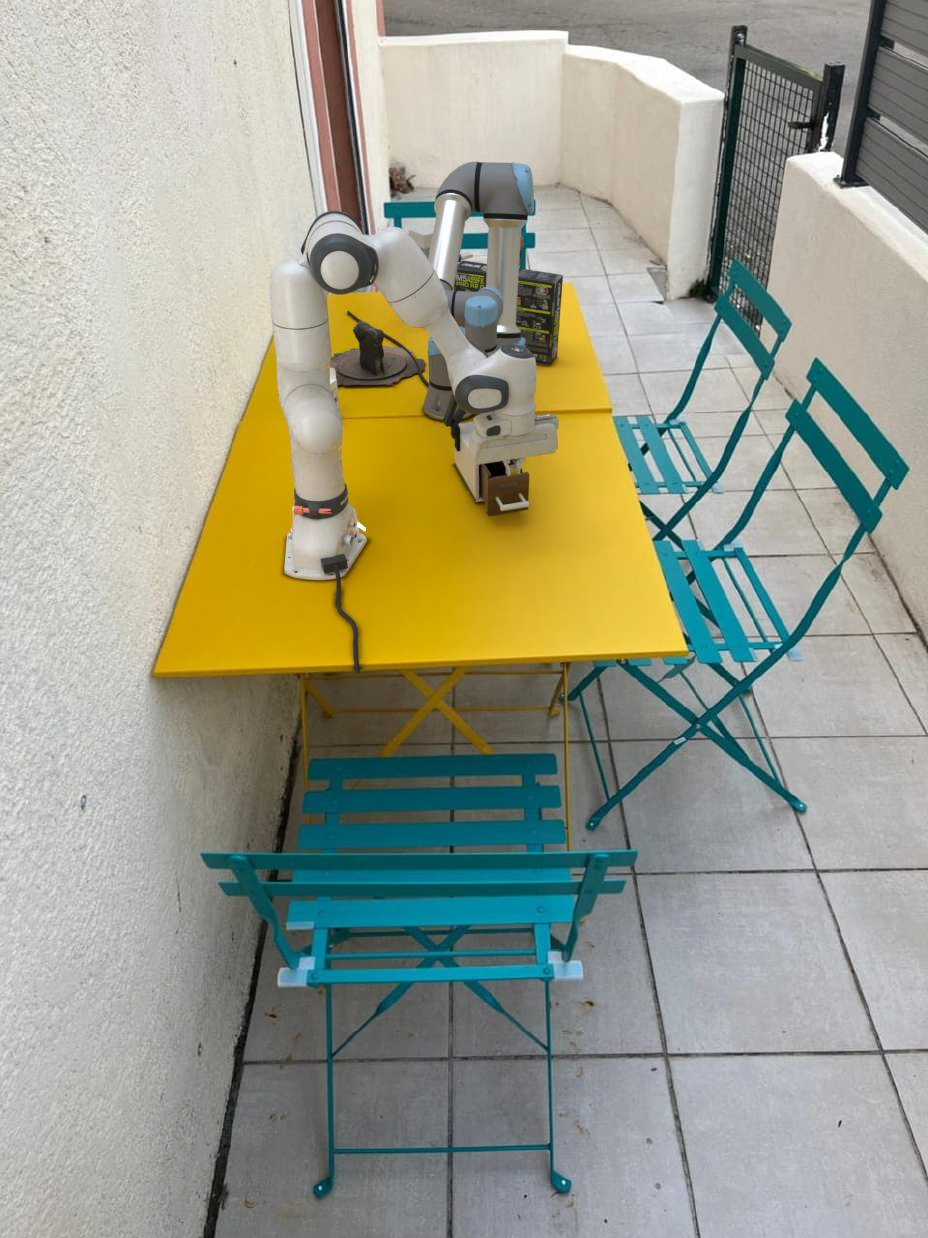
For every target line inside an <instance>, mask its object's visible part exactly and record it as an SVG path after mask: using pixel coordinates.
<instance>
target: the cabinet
mask: <svg viewBox="0 0 928 1238" xmlns="http://www.w3.org/2000/svg"><path fill="white" fill-rule="evenodd" d="M458 425H459V427H460V451H458V452H457V450H456V448H455V440H454V439H453V448H454V449H453V450H454V451H453V453H454V454H453V455H454V457H453V458H454V461H453V462H454V467H455V469H456V470H457V472H458V474H459V476H460V478H461V479H462V481H463V483H464V485H465V487H466V489H467V490H468V492H469V494H470V496H471V497H472V499H473V501H474V502H475V503H479V502H484V501H483V499H482V498H481V496H480V494H479V465H476V464H474V463H473V462H472V460H471V459H470V456H469V443H470V436H471V433H472V431H473V429H474V428H475V425H474V421H468V422H460V423H459V424H458ZM515 460H516V462H517V460H518V459H515Z"/></svg>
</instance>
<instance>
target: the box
mask: <svg viewBox="0 0 928 1238" xmlns="http://www.w3.org/2000/svg"><path fill="white" fill-rule="evenodd" d="M486 274H487V263H483V262H477V261H470V260H461V262H459V263H458V267H457V273H456V279H455V285H454V291H468V292H478V291H479V290H480V289H482V288H484V287H486ZM563 279H564V275H563V274H561V273H553V272H547V271H540V270H534V269H526V268H520V267H519V275H518V293H517V310H516V326H517V327H518V328H519V329H520V330H521V336H520V337H523V338H524V339H525V340H526V343H525V348H527V349H528V350H529V351H530V352H531V353H532V354H533V355H534V357H535V361H536V365H541V366H548V367H550V366H551V365H552V364H553V363H554V362H555V360H556V359H557V358H558V351H559V350H558V349H559V335H560V321H561V306H562V293H563V292H562V291H563V283H564V282H563V281H564V280H563ZM458 325H459V326H461V327H464V328H465V324H458Z"/></svg>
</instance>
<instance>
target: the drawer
mask: <svg viewBox="0 0 928 1238" xmlns="http://www.w3.org/2000/svg"><path fill="white" fill-rule="evenodd" d="M507 464H508V465H515V464H516V460H515V459H512V460H510V463H507ZM479 494H480V496H481V498H482V499H483V501H482V502H483V503H484V505H485V506H486V507H485V509H486V511H485V514H486V516H487V517H491V516H497V515H499V516H500V515H504V514H510V513H517V512H523V511H528V510H529V507H530V503H529V495H530V473H529V471H523V469H522V467H521V468H520V474H516V475H510V476H508V475H507V474H506V466H505V465H504V463H503V462H502V461H499V462H492V463H486V464H479Z"/></svg>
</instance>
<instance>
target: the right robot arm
mask: <svg viewBox="0 0 928 1238" xmlns="http://www.w3.org/2000/svg"><path fill="white" fill-rule="evenodd" d="M534 189H535V188H534V179H533V172H532V169H531V167H530V166H529V165H528V164H525V163H519V162H518V163H517V162H514V161H513V162H493V161H492V162H491V161H489V162H488V161H468V162H466V163H463V164H461V165H459V166H457V168H455V169H454V170H453V171H451V172H450V173H449V174H448V175H447V176H446V177H445V179H444V180H443V182H442V183H441V185H440V186H439V188H438V190H437V193H436V195H435V200H434V205H433V208H434V209H433V210H434V213H435V219H434V220H435V221H434V225H433V226H434V231H433V236H432V241H431V247H430V252H429V257H428V260H429V262H430V263H431V265H432V266H433V268H434V269H435V271H436V273H437V275H438V277H439V278H440V281H441V283H442V285H443V287H444V290H445V292H446V295H447V298H448V308H449V310H450V313H451V314H452V316H453V317H454V319H455V320H456V322H457V324H465V328H464V327H461V326H459V327H460V328H461V330H462V331H463V333H464V334H465V336H466V337H467V339H469V340H470V341H471V342H472V343H474V344H475V345H477V346H479V347H480V348H481V349H483V350H484V351H485V352H486V353H487V355H488V356H489V357H490V356H491V355H493V354H494V353H496V352H497V351H498V350H499V349H500V347H501V346H503V345H508V344H515V345H519V346H522V347H524V348H525V343H526V340H525V339H524V338H523V337H520V336H521V330H520V329H519V328H518V327H517V326H516V310H517V293H518V275H519V268H520V265H519V258H520V241H521V234H522V229H523V228H524V226H525V225H526V224H527V223H528V220H529V219H528V218H529V215H533V214H534V212H535V192H534ZM473 212H476V213H482V220H483V222H484V223H485V224H486V225H487V227H488V233H487V234H488V235H487V251H486V252H487V253H486V264H487V274H486V287H484V288H482V289H480V290H479V291H478V292H468V291H454V285H455V279H456V273H457V267H458V264H459V263H460V262H459V256H460V254H461V249H462V244H463V239H464V238H463V237H464V233H465V226H466V222H467V221H468V220H469V219H470V217H471V214H472V213H473ZM458 262H459V263H458ZM346 314H348V315H349V316H350V317H351V318H352V319H354V320H355V321H356V322H357V323H358V322H359V321H362V319H360V318H358V317H357V316H355V315H354V314H353V313H352V312H351V311H350V310H347V311H346ZM383 333H384V337H385V338H386V339H388V340H390V341H391V342H393V343H394V344H396V345H397V346H398V347H399V348H403V349H404V350H405V351H406V352H407V353H409V355H410V356H411V357H412V359H413V361H414V362H415V364H416V366H417V369H418V373H417V374H418V376H419V377H420V379H421V380H422V382H423V384H425V386H426V387H428V388H427V390H426V394H425V397H424V401H423V412H424V414H425V415H426V416H427V417H428V418H430V419H433V420H435V421H439V422H443V423H444V425H445V427H447V428H448V427H450V437H451V438H452V439H453V441H454V440H455V448H456V450H457V452H458V451H460V427H459V425H458V424H460V423H461V422H462V421H464V420H466V419H469V418H471V417H472V416H473V415H474V414H470V413H467V412H465V411H463V410H462V409H461V408H460V407H459V406H458V404H457V403H456V400H455V397H454V394H453V390H452V387H451V383H450V381H449V379H448V376H447V373H446V368H445V359H444V356H443V355H442V353H441V352H440V350H439V349H438V347H437V346H436V344H435V343H434V341H433V340H432V338H431V337H430V336H429V337H428V340H427V364H428V380H426V378H425V377H424V375H423V373H422V371H420V368H419V365H418V363H417V361H416V359H415V358H416V357H415V355H414V356H413V355H412V354H411V353H410V352H411V351H408V350H409V349H408V348H407V347H405V346H404V345H403V344H402V343H401V342H399V341H398V340H396V339H394V338H393V337H391V336H390V335H388V334H386V333H385V332H383ZM414 357H415V358H414Z"/></svg>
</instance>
